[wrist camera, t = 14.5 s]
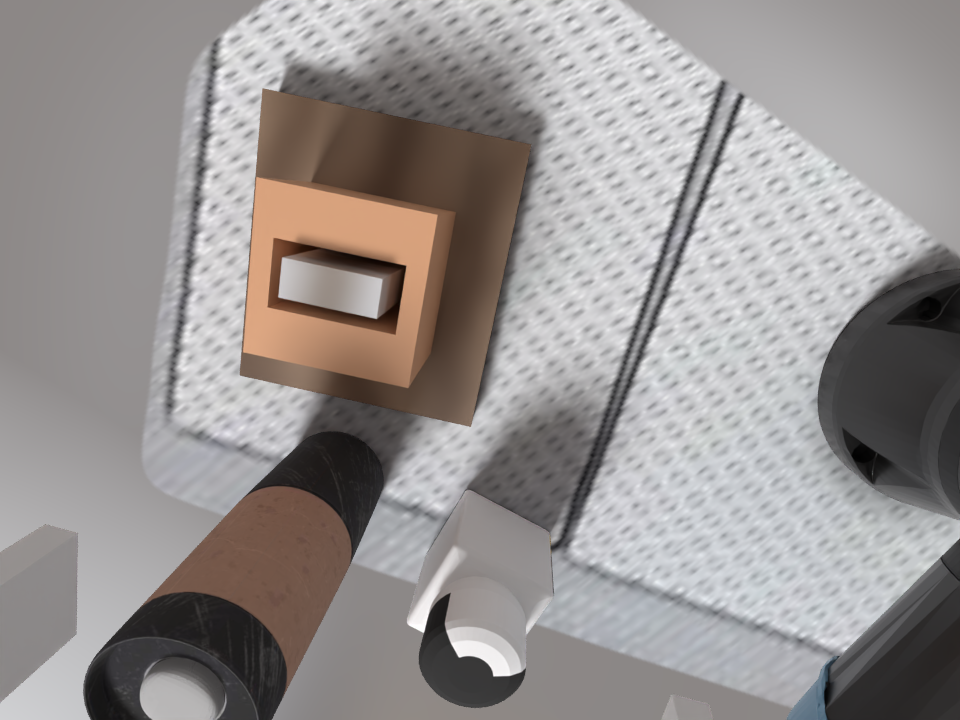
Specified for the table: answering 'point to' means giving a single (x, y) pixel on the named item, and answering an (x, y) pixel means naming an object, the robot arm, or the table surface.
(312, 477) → the travel mug
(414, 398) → the stand
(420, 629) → the medicine bottle
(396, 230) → the tan cube with window
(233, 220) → the table surface
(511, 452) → the table surface
